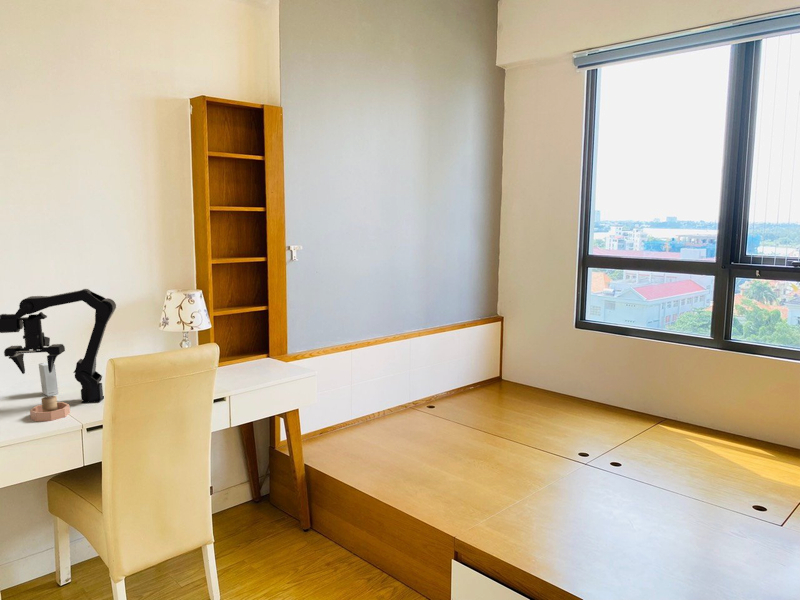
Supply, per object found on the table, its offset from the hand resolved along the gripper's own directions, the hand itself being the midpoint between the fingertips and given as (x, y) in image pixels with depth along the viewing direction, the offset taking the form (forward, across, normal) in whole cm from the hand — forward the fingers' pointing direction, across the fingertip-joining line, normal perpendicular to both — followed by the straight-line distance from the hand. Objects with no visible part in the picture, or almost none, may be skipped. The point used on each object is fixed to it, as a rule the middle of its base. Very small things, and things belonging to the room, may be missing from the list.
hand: (37, 373), depth 231 cm
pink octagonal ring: (+12, -9, +14) cm, 20 cm away
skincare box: (+12, +2, -14) cm, 19 cm away
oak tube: (+12, -9, +14) cm, 21 cm away
